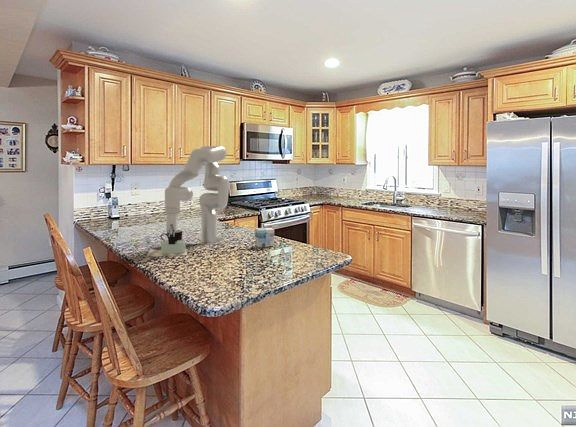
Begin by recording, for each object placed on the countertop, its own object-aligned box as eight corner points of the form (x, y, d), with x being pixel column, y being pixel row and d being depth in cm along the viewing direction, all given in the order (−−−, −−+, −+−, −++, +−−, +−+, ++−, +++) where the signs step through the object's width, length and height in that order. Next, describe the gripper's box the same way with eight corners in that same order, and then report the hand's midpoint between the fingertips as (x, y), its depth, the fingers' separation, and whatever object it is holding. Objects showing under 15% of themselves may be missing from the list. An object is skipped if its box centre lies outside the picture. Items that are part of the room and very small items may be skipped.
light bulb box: (257, 247, 214) (257, 230, 212) (254, 245, 220) (254, 228, 218) (274, 246, 218) (274, 229, 216) (271, 244, 224) (271, 227, 222)
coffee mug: (185, 247, 212) (185, 230, 211) (176, 250, 204) (176, 233, 203) (169, 245, 216) (169, 229, 214) (160, 248, 208) (159, 231, 206)
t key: (140, 245, 215) (139, 235, 215) (157, 245, 217) (157, 235, 217) (139, 246, 213) (139, 236, 212) (157, 245, 215) (156, 235, 214)
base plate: (187, 251, 201) (187, 248, 201) (186, 257, 188) (186, 254, 187) (150, 252, 197) (150, 250, 197) (146, 259, 183) (146, 256, 183)
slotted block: (185, 250, 197) (185, 239, 196) (184, 253, 191) (184, 242, 190) (162, 251, 194) (162, 240, 193) (161, 254, 188) (161, 242, 188)
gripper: (166, 209, 197) (167, 239, 199) (163, 212, 180) (163, 245, 182) (180, 209, 199) (181, 239, 201) (178, 212, 182) (178, 245, 184)
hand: (172, 242), depth 191 cm, fingers open, 9 cm apart
